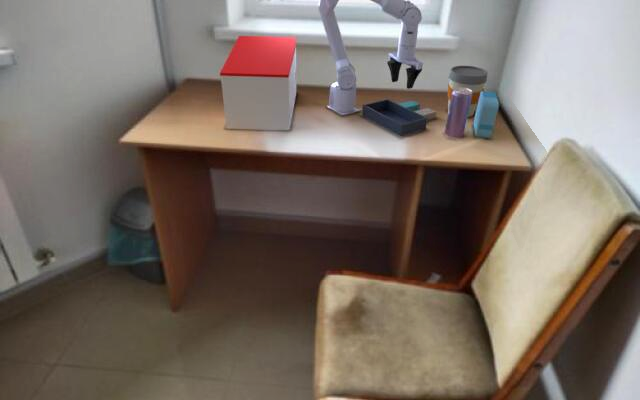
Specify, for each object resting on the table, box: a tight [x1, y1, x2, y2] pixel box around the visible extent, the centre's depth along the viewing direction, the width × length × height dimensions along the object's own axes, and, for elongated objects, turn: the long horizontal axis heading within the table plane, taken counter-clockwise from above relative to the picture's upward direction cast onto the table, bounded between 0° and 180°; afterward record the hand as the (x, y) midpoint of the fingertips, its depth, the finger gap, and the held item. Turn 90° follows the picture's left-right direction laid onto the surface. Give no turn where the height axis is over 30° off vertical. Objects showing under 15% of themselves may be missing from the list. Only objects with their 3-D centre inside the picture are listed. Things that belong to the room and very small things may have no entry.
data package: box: [473, 90, 500, 139], centre depth 141 cm, size 12×4×12 cm, turn 167°
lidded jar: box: [447, 65, 488, 118], centre depth 154 cm, size 13×13×15 cm
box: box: [361, 98, 428, 137], centre depth 148 cm, size 20×11×4 cm, turn 34°
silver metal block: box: [414, 107, 437, 121], centre depth 152 cm, size 4×7×3 cm, turn 124°
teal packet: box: [398, 100, 421, 111], centre depth 157 cm, size 4×7×3 cm, turn 124°
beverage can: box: [444, 87, 472, 139], centre depth 138 cm, size 6×6×15 cm
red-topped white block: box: [219, 35, 297, 131], centre depth 151 cm, size 21×35×21 cm, turn 179°
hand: (402, 84), depth 152 cm, fingers open, 7 cm apart
